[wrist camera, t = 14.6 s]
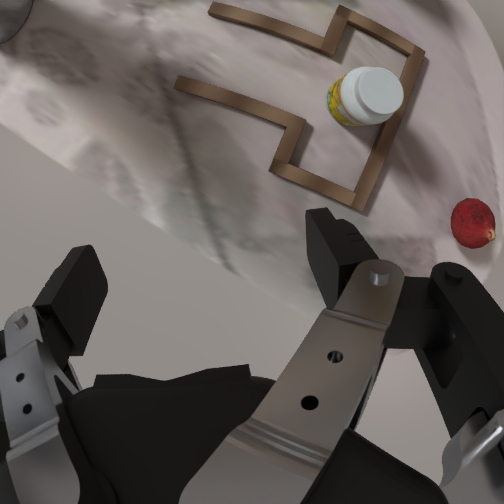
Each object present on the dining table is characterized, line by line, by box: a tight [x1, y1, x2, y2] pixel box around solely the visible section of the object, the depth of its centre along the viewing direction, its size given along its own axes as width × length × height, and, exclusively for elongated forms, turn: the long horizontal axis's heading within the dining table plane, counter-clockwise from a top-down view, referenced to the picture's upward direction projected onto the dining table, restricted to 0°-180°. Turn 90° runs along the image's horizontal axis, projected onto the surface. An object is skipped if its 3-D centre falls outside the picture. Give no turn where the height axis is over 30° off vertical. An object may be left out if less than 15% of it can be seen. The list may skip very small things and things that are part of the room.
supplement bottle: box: [327, 67, 404, 126], centre depth 25 cm, size 5×5×10 cm
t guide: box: [174, 2, 425, 211], centre depth 28 cm, size 24×21×1 cm
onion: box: [451, 198, 496, 249], centre depth 29 cm, size 6×6×8 cm
